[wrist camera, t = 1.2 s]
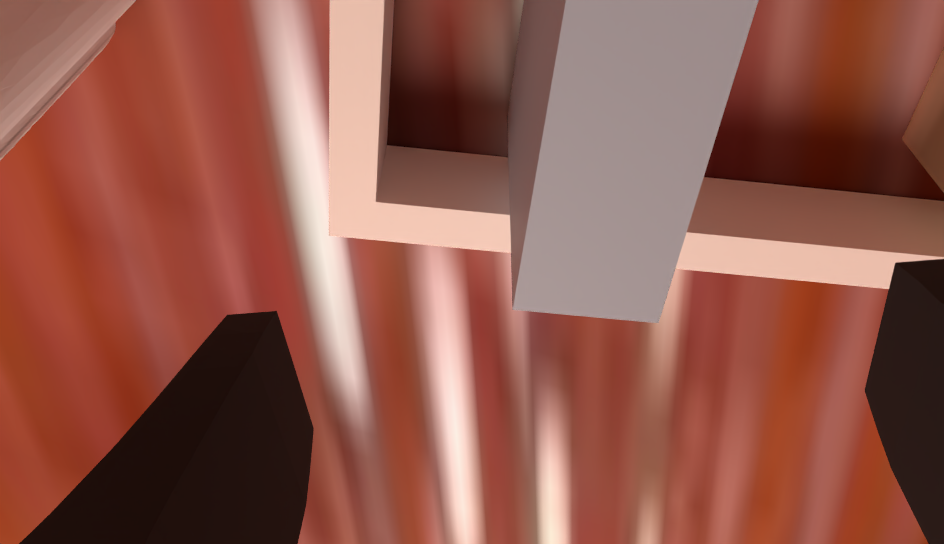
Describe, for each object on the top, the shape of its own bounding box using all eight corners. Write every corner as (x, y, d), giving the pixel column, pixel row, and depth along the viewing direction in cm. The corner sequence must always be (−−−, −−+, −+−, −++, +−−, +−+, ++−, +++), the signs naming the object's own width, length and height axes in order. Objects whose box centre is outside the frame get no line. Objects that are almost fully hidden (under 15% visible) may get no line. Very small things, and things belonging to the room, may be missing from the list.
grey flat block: (703, -271, 15) (822, -206, 10) (613, 128, 20) (658, 323, 15) (565, -289, 15) (605, -232, 10) (507, 117, 20) (512, 309, 15)
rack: (1553, -327, 15) (2066, -298, 10) (1134, 265, 22) (1308, 442, 17) (355, -489, 14) (281, -545, 9) (344, 187, 21) (301, 353, 17)
